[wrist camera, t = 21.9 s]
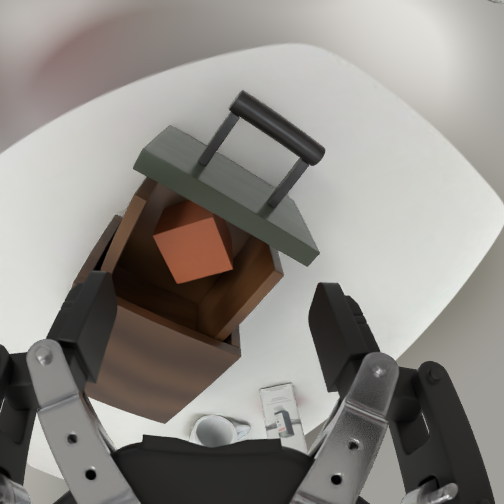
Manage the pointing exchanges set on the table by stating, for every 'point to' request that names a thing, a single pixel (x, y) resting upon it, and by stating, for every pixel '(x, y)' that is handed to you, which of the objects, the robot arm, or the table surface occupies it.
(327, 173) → the table surface
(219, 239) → the block
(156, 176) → the drawer
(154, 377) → the cabinet
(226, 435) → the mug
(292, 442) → the ink box
